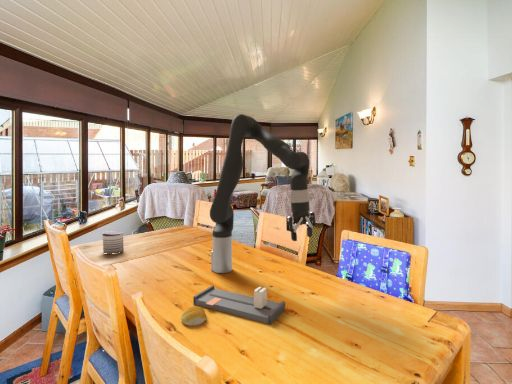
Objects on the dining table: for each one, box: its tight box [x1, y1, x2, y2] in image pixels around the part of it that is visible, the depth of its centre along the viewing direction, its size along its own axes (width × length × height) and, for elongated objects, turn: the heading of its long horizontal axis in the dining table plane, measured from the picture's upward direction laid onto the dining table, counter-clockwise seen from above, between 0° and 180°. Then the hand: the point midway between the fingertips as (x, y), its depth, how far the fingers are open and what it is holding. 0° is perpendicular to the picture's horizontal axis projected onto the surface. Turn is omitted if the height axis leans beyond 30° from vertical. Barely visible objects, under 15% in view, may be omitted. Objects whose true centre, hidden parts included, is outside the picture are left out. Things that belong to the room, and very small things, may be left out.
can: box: [102, 230, 125, 254], centre depth 188 cm, size 11×11×12 cm
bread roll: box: [180, 305, 207, 327], centre depth 110 cm, size 8×9×4 cm
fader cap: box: [253, 286, 268, 309], centre depth 114 cm, size 3×4×6 cm
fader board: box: [192, 285, 286, 325], centre depth 118 cm, size 32×13×3 cm, turn 62°
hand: (302, 238), depth 135 cm, fingers open, 8 cm apart
